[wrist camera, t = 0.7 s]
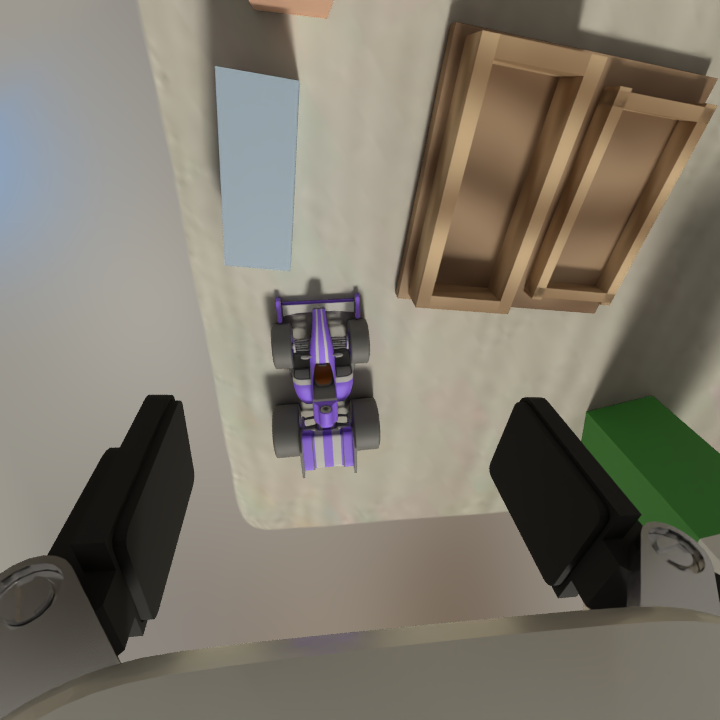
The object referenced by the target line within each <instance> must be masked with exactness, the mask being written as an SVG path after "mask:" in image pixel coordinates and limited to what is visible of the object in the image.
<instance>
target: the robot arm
mask: <svg viewBox="0 0 720 720" xmlns="http://www.w3.org/2000/svg"><path fill="white" fill-rule="evenodd" d="M489 469H490V475H491V477H492V479H493V481H494V483H495V485H496V487H497V489H498V491H499V493H500V495H501V497H502V499H503V501H504V503H505V505H506V507H507V509H508V511H509V513H510V514H511V516H512V518H513V520H514V522H515V524H516V526H517V528H518V530H519V532H520V534H521V536H522V537H523V540H524V542H525V544H526V546H527V547H528V550H529V551H530V553H531V555H532V557H533V559H534V561H535V563H536V565H537V567H538V569H539V571H540V573H541V575H542V577H543V579H544V580H545V582H546V583H547V584H548V585H550V586H552V588H553V590H554V592H555V593H556V595H557V597H558V598H566V597H576V596H577V595H578V594H579V595H580V597H581V598H582V600H583V602H584V604H583V610H581V611H570V612H560V613H548V614H537V615H527V616H517V617H516V616H515V617H504V618H494V619H484V620H473V621H462V622H453V623H441V624H431V625H421V626H412V627H401V628H390V629H380V630H370V631H360V632H350V633H340V634H331V635H321V636H311V637H302V638H292V639H282V640H272V641H262V642H253V643H245V644H237V645H229V646H220V647H212V648H204V649H196V650H187V651H180V652H174V653H168V654H163V655H156V656H150V657H145V658H140V659H136V660H132V661H128V662H124V663H121V662H120V660H119V658H118V655H119V654H120V653H122V652H123V651H124V650H125V647H126V644H127V641H128V637H134V636H143V634H144V631H145V627H146V623H147V620H149V619H155V617H156V616H157V613H158V610H159V607H160V603H161V600H162V595H163V592H164V589H165V585H166V581H167V578H168V574H169V571H170V567H171V563H172V560H173V556H174V552H175V549H176V545H177V542H178V538H179V534H180V531H181V527H182V524H183V520H184V516H185V513H186V509H187V505H188V501H189V498H190V494H191V491H192V487H193V482H194V468H193V463H192V457H191V451H190V445H189V439H188V433H187V428H186V421H185V416H184V410H183V404H182V402H181V401H175V399H174V396H173V395H148V396H147V397H146V398H145V400H144V402H143V404H142V406H141V408H140V410H139V412H138V413H137V415H136V417H135V419H134V421H133V423H132V425H131V427H130V429H129V431H128V433H127V435H126V437H125V439H124V441H123V442H122V444H121V447H120V448H109V449H108V450H106V452H105V453H104V455H103V456H102V458H101V459H100V461H99V463H98V465H97V467H96V469H95V470H94V472H93V474H92V476H91V477H90V479H89V481H88V483H87V485H86V487H85V488H84V490H83V492H82V494H81V495H80V497H79V499H78V501H77V503H76V504H75V506H74V508H73V510H72V512H71V514H70V515H69V517H68V519H67V521H66V523H65V524H64V526H63V528H62V530H61V532H60V533H59V535H58V537H57V539H56V541H55V542H54V544H53V546H52V548H51V550H50V551H49V553H48V555H47V556H46V555H43V556H38V557H34V558H29V559H27V560H24V561H22V562H20V563H17V564H16V565H13V566H11V567H10V568H8V569H7V570H5V571H4V572H2V573H0V720H720V575H719V574H717V573H716V572H714V567H713V565H712V562H711V559H710V557H709V556H708V555H707V553H706V552H705V550H704V549H703V548H702V547H701V546H700V545H699V544H698V543H697V542H696V541H695V540H694V539H692V538H691V537H690V536H689V535H687V534H686V533H684V532H683V531H681V530H679V529H677V528H676V527H674V526H671V525H668V524H665V523H661V522H655V521H654V522H648V523H646V524H645V525H643V526H642V524H641V523H640V522H639V521H638V519H639V518H640V516H641V515H642V514H641V513H640V512H639V511H638V509H637V508H636V507H635V506H634V505H633V503H632V502H631V501H630V500H629V499H628V497H627V496H626V495H625V494H624V493H623V491H622V490H621V489H620V488H619V487H618V485H617V484H616V483H615V482H614V481H613V479H612V478H611V477H610V476H609V475H608V473H607V472H606V471H605V470H604V469H603V467H602V466H601V465H600V464H599V463H598V461H597V460H596V459H595V458H594V457H593V455H592V454H591V453H590V452H589V450H588V449H587V448H586V447H585V446H584V444H583V443H582V442H581V441H580V440H579V438H578V437H577V436H576V435H575V434H574V432H573V431H572V430H571V429H570V428H569V426H568V425H567V424H566V423H565V422H564V420H563V419H562V418H561V417H560V416H559V414H558V413H557V412H556V411H555V410H554V408H553V407H552V406H551V405H550V404H549V402H548V401H547V400H546V399H545V398H540V397H525V398H522V399H521V400H520V402H518V403H516V404H515V406H514V408H513V410H512V413H511V415H510V418H509V420H508V422H507V425H506V427H505V429H504V432H503V434H502V437H501V439H500V441H499V444H498V446H497V449H496V451H495V453H494V456H493V458H492V461H491V463H490V468H489Z"/></svg>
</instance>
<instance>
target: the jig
mask: <svg viewBox="0 0 720 720" xmlns="http://www.w3.org/2000/svg"><path fill="white" fill-rule="evenodd" d="M716 81H717V78H713V77H708V76H703V75H699V74H694V73H690V72H685V71H680V70H676V69H671V68H667V67H662V66H657V65H653V64H648V63H644V62H639V61H634V60H630V59H625V58H620V57H616V56H611V55H607V54H602V53H597V52H593V51H588V50H584V49H579V48H574V47H570V46H565V45H561V44H556V43H551V42H547V41H542V40H537V39H533V38H528V37H524V36H519V35H514V34H510V33H505V32H501V31H496V30H491V29H487V28H482V27H478V26H473V25H468V24H464V23H459V22H455V23H453V24H451V25H450V30H449V35H448V39H447V44H446V49H445V54H444V59H443V64H442V69H441V74H440V78H439V83H438V88H437V93H436V98H435V103H434V108H433V112H432V117H431V122H430V127H429V132H428V137H427V142H426V146H425V151H424V156H423V161H422V166H421V171H420V176H419V181H418V185H417V190H416V195H415V200H414V205H413V210H412V215H411V219H410V224H409V229H408V234H407V239H406V244H405V249H404V253H403V258H402V263H401V268H400V273H399V278H398V283H397V288H396V292H395V293H396V295H397V297H398V298H403V299H412V301H413V303H414V305H415V307H419V308H432V309H446V310H459V311H473V312H486V313H500V314H508V313H509V310H510V307H518V308H531V309H544V310H556V311H569V312H582V313H595V312H596V310H597V308H598V306H599V304H601V305H610V303H611V302H612V300H613V298H614V296H615V294H616V292H617V290H618V289H619V287H620V285H621V283H622V281H623V279H624V278H625V276H626V274H627V272H628V270H629V268H630V266H631V265H632V263H633V261H634V259H635V257H636V255H637V254H638V252H639V250H640V248H641V246H642V244H643V242H644V241H645V239H646V237H647V235H648V233H649V231H650V229H651V228H652V226H653V224H654V222H655V220H656V218H657V217H658V215H659V213H660V211H661V209H662V207H663V205H664V204H665V202H666V200H667V198H668V196H669V194H670V193H671V191H672V189H673V187H674V185H675V183H676V181H677V180H678V178H679V176H680V174H681V172H682V170H683V169H684V167H685V165H686V163H687V161H688V159H689V157H690V156H691V154H692V152H693V150H694V148H695V146H696V145H697V143H698V141H699V139H700V137H701V135H702V133H703V132H704V130H705V128H706V126H707V124H708V122H709V121H710V119H711V117H712V115H713V113H714V111H715V109H716V108H717V105H712V104H707V103H705V102H706V100H707V98H708V96H709V95H710V93H711V91H712V89H713V87H714V85H715V83H716Z"/></svg>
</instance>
